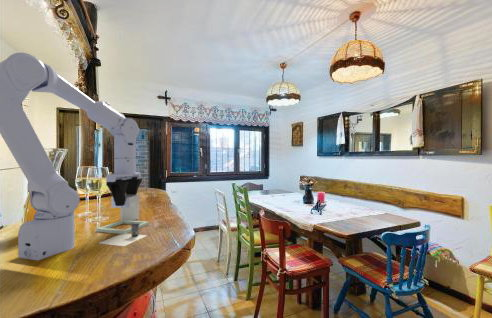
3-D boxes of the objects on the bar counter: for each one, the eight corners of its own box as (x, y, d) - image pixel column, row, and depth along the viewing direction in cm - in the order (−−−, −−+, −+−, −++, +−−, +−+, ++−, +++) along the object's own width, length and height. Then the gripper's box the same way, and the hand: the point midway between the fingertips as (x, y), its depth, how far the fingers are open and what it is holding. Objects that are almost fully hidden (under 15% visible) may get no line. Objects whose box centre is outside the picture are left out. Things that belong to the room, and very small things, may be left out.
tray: (124, 237, 65) (124, 231, 65) (96, 234, 67) (96, 228, 67) (148, 227, 74) (148, 221, 74) (123, 225, 77) (123, 219, 77)
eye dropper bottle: (123, 221, 82) (123, 187, 82) (140, 220, 83) (140, 187, 83) (118, 224, 78) (118, 189, 78) (136, 223, 79) (136, 188, 79)
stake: (136, 237, 62) (136, 224, 62) (129, 236, 63) (128, 224, 63) (141, 235, 64) (141, 222, 64) (133, 234, 64) (133, 222, 64)
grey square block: (111, 207, 67) (111, 197, 67) (122, 203, 72) (122, 194, 72) (129, 207, 67) (129, 197, 67) (139, 203, 72) (138, 194, 72)
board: (124, 250, 56) (124, 246, 56) (98, 247, 58) (98, 243, 58) (147, 239, 63) (146, 235, 63) (123, 236, 65) (123, 233, 65)
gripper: (124, 158, 62) (124, 208, 62) (149, 158, 76) (149, 199, 77) (98, 158, 62) (99, 208, 62) (128, 158, 77) (129, 199, 77)
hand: (125, 203), depth 69 cm, fingers closed on grey square block, 5 cm apart
